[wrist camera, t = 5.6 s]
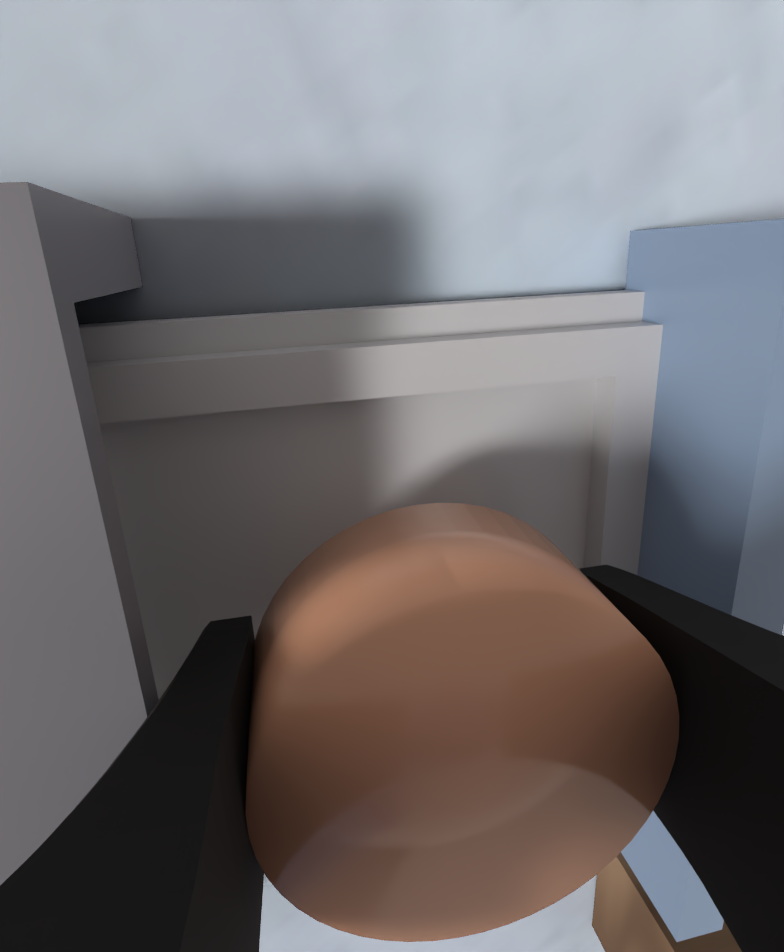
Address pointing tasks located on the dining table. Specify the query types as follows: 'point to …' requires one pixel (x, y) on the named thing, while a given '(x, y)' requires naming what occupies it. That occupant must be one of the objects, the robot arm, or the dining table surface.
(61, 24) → the dining table surface
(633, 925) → the brown cube block
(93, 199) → the dining table surface
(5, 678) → the box
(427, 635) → the cylinder
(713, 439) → the tray
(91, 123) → the dining table surface
